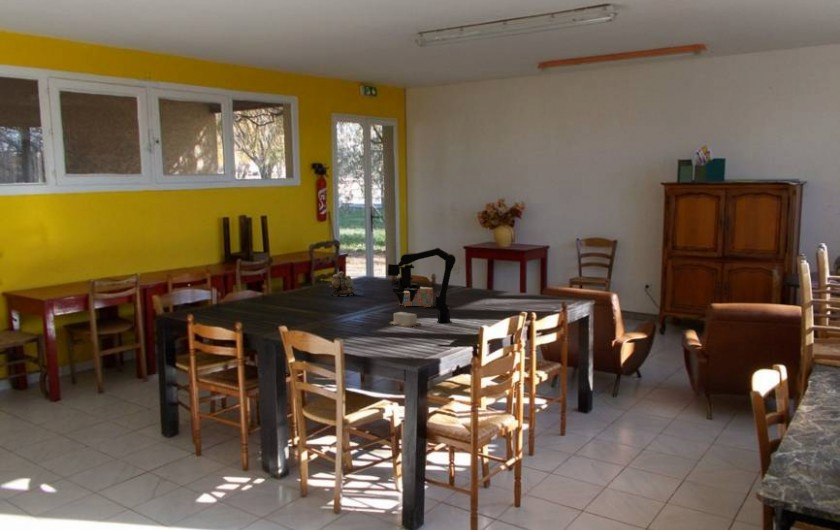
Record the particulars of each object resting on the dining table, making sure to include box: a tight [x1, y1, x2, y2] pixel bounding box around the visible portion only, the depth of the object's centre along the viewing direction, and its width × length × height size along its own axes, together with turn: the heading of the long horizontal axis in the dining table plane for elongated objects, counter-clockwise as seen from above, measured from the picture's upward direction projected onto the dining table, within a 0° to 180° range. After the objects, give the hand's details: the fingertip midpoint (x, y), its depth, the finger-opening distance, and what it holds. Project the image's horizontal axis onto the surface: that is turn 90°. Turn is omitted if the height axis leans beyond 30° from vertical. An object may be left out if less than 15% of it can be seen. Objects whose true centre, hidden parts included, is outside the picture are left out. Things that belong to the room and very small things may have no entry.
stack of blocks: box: [398, 286, 434, 308], centre depth 457 cm, size 21×6×12 cm, turn 75°
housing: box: [393, 311, 418, 325], centre depth 401 cm, size 12×6×5 cm, turn 50°
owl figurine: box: [329, 271, 356, 296], centre depth 500 cm, size 18×12×17 cm, turn 105°
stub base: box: [388, 320, 422, 328], centre depth 402 cm, size 15×10×4 cm, turn 50°
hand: (406, 302), depth 406 cm, fingers open, 9 cm apart
